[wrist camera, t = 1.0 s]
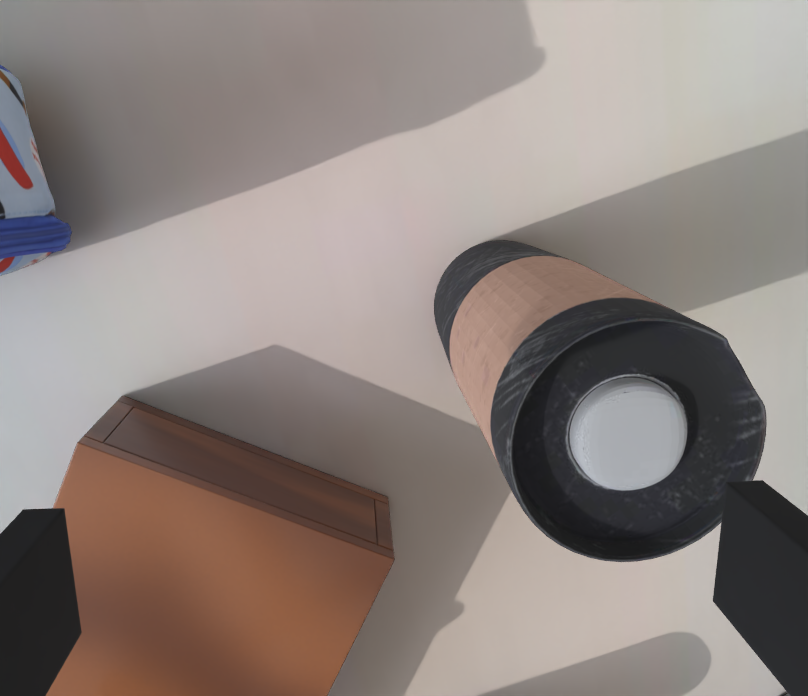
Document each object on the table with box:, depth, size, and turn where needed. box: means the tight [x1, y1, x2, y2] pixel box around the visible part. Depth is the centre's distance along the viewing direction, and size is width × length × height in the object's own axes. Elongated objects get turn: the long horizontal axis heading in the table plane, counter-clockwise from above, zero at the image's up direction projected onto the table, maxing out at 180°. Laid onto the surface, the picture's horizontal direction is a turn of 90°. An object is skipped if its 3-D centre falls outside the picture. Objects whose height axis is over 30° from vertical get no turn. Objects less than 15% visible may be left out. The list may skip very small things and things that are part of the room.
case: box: [84, 396, 393, 551], centre depth 40 cm, size 18×16×6 cm
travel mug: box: [434, 240, 766, 562], centre depth 30 cm, size 8×8×20 cm
